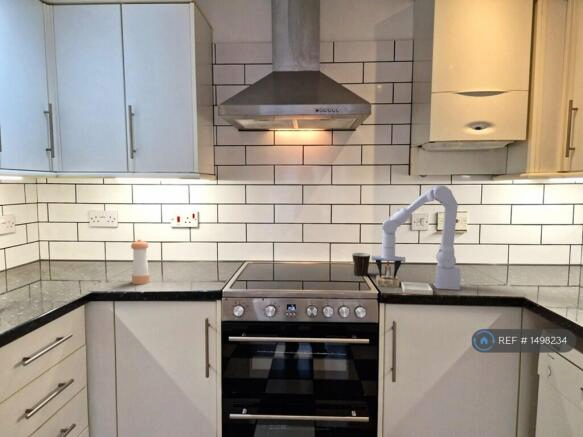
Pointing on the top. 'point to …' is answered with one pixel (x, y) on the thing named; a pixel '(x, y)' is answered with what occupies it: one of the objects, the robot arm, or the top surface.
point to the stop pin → (387, 272)
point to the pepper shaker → (140, 263)
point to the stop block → (387, 281)
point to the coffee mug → (361, 263)
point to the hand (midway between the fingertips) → (387, 277)
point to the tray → (416, 288)
